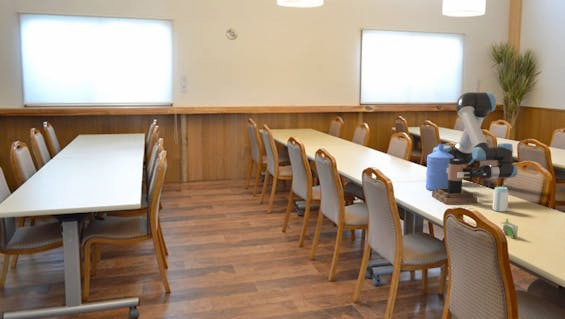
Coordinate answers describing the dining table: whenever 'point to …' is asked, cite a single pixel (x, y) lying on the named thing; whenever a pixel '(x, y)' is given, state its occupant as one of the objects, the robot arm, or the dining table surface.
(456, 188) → the travel mug
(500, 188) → the can
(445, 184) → the water jug
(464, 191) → the brown wooden tray
